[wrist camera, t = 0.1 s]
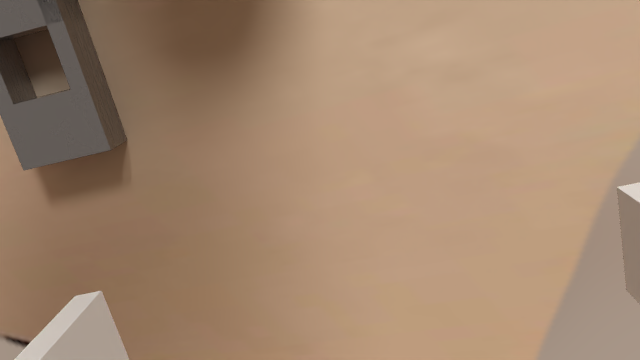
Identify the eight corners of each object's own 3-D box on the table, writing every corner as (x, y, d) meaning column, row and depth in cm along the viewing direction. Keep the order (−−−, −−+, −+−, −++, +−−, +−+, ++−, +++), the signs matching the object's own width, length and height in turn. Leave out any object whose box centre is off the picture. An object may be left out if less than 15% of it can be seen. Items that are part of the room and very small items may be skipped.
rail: (-79, -146, 37) (-115, -159, 34) (14, -176, 36) (-15, -192, 33) (45, 159, 43) (23, 170, 40) (127, 140, 42) (110, 149, 39)
